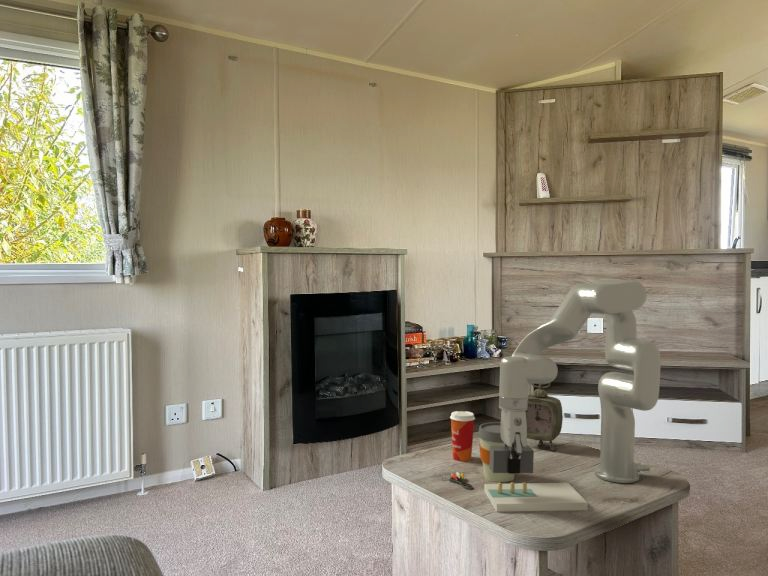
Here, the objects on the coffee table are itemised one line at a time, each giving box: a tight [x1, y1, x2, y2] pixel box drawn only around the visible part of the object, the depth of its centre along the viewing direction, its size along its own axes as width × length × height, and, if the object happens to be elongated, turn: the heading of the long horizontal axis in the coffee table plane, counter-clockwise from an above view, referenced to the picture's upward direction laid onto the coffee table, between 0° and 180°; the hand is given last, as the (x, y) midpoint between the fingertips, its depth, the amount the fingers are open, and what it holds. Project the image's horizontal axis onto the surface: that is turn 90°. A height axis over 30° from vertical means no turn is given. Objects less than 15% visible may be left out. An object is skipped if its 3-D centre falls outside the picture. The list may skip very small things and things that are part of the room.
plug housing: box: [489, 445, 535, 474], centre depth 157 cm, size 11×4×6 cm, turn 93°
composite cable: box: [448, 471, 473, 491], centre depth 170 cm, size 10×5×2 cm, turn 14°
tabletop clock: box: [525, 382, 564, 452], centre depth 206 cm, size 14×9×25 cm, turn 59°
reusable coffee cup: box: [478, 421, 516, 483], centre depth 176 cm, size 13×13×15 cm
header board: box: [483, 481, 588, 513], centre depth 158 cm, size 24×14×5 cm, turn 93°
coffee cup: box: [449, 410, 476, 462], centre depth 192 cm, size 8×8×15 cm
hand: (511, 469), depth 158 cm, fingers closed on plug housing, 4 cm apart
